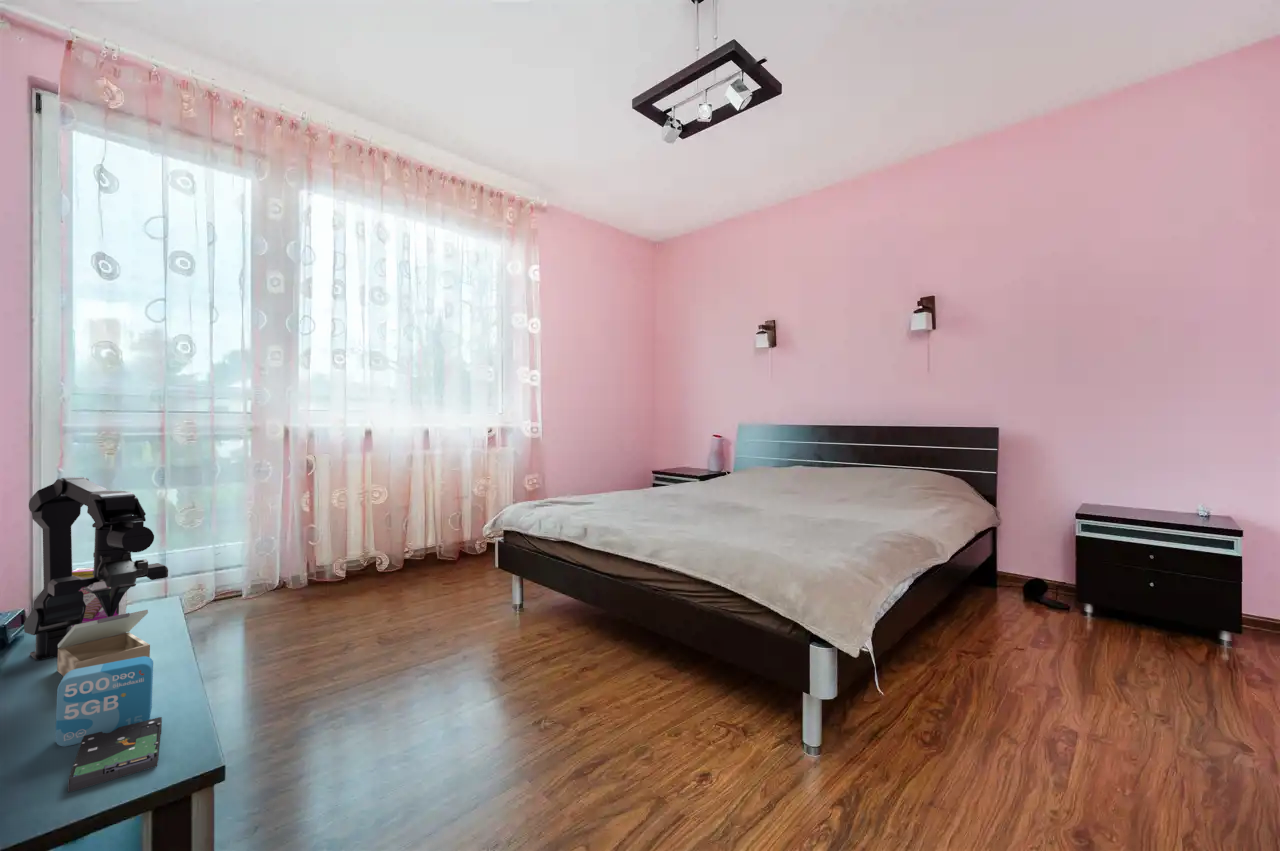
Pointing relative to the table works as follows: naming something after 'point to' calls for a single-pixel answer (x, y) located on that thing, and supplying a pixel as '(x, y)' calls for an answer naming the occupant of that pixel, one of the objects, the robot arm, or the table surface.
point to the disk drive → (116, 753)
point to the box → (101, 652)
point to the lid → (101, 628)
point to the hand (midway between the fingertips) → (109, 616)
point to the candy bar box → (95, 599)
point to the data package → (103, 698)
